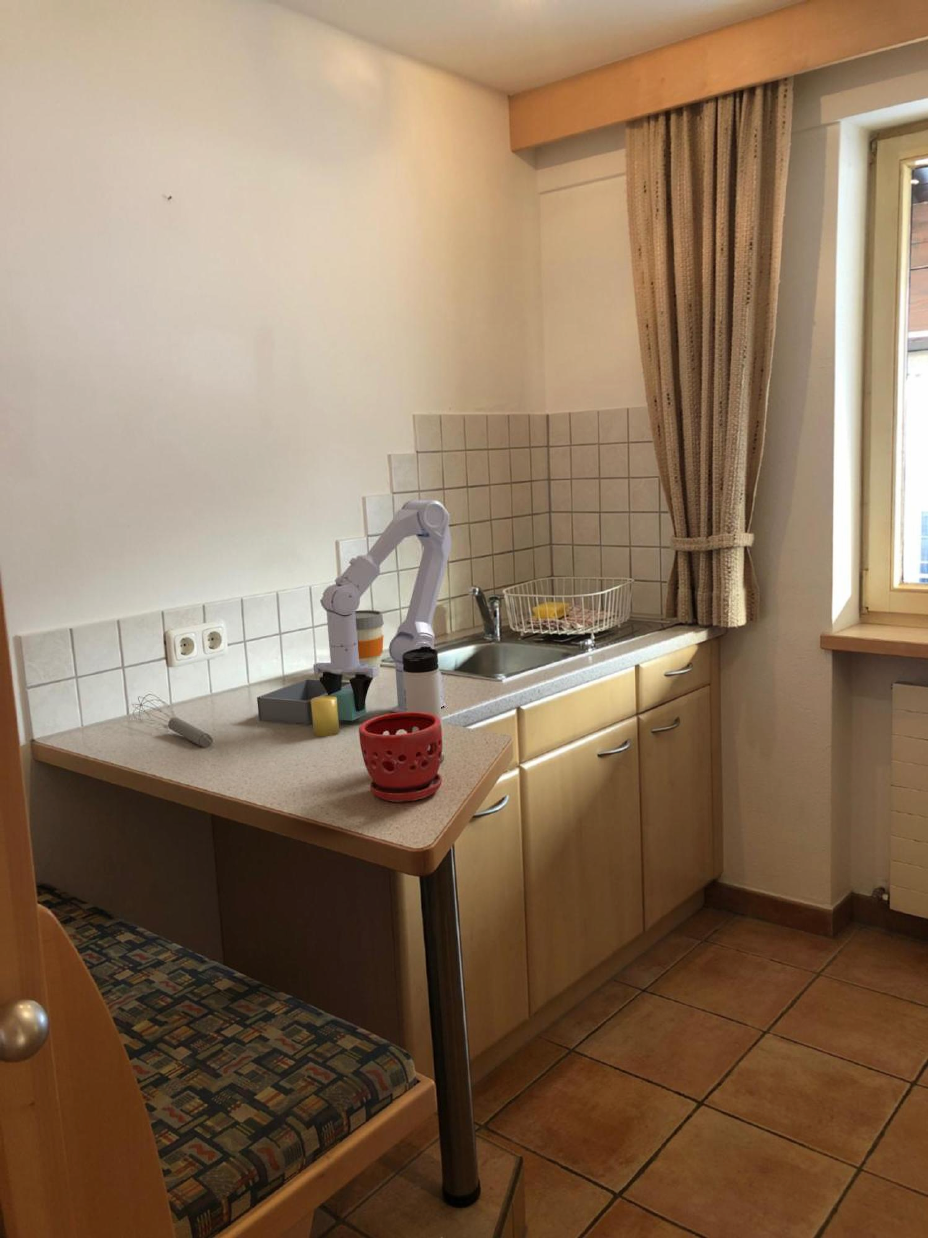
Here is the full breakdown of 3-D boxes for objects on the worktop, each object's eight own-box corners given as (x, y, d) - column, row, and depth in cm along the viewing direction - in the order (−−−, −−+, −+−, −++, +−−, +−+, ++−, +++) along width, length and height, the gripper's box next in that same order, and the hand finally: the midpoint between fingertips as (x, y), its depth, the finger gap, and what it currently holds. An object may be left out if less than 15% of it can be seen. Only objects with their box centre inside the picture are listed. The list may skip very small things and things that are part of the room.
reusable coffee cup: (359, 666, 260) (355, 608, 258) (397, 671, 253) (393, 611, 250) (325, 677, 250) (320, 617, 248) (363, 682, 243) (359, 620, 240)
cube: (366, 714, 209) (364, 690, 208) (352, 720, 205) (350, 696, 204) (346, 712, 211) (344, 688, 211) (332, 718, 207) (330, 694, 206)
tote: (308, 700, 228) (306, 678, 227) (357, 704, 222) (355, 682, 221) (259, 720, 213) (257, 697, 213) (310, 725, 207) (308, 701, 206)
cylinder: (344, 730, 202) (341, 696, 201) (329, 737, 198) (326, 702, 197) (323, 728, 205) (320, 694, 203) (308, 735, 200) (305, 701, 199)
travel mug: (449, 755, 183) (443, 646, 179) (436, 767, 176) (430, 654, 173) (417, 754, 185) (410, 645, 181) (403, 765, 178) (396, 653, 175)
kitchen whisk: (198, 754, 193) (195, 722, 192) (128, 724, 218) (125, 695, 217) (228, 747, 196) (224, 715, 195) (155, 718, 222) (152, 689, 221)
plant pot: (381, 778, 172) (376, 709, 170) (455, 782, 169) (451, 711, 166) (351, 805, 160) (345, 732, 158) (430, 810, 156) (425, 734, 154)
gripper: (302, 646, 205) (308, 711, 208) (362, 649, 199) (367, 717, 201) (322, 639, 212) (328, 703, 214) (381, 642, 205) (386, 708, 207)
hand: (348, 709), depth 208 cm, fingers closed on cube, 5 cm apart
